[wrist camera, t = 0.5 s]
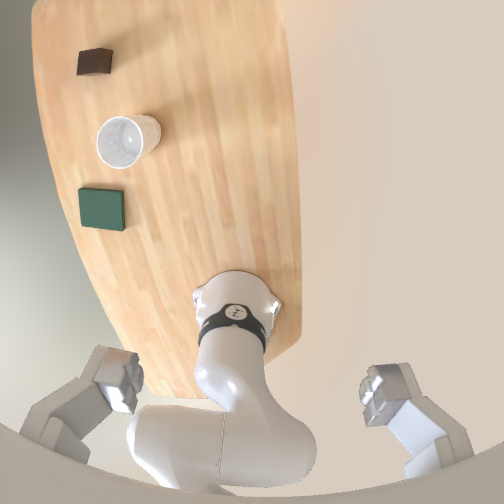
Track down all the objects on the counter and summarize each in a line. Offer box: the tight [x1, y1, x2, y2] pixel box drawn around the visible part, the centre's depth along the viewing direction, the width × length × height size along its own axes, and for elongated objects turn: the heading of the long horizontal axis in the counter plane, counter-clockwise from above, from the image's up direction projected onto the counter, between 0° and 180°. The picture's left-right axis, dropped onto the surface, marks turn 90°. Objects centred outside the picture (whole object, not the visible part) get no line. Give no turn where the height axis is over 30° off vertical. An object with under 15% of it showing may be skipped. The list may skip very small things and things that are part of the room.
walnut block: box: [77, 48, 113, 76], centre depth 36 cm, size 4×4×4 cm
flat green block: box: [78, 188, 125, 231], centre depth 52 cm, size 8×10×1 cm
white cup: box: [96, 115, 162, 169], centre depth 41 cm, size 8×8×10 cm
